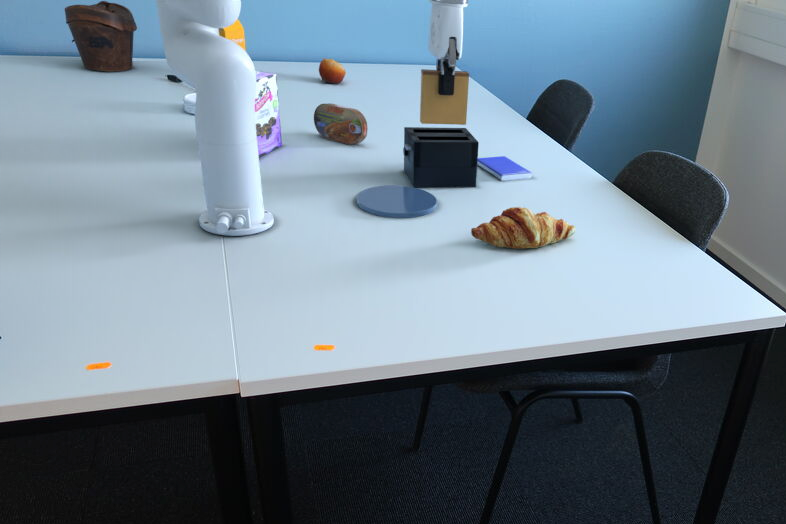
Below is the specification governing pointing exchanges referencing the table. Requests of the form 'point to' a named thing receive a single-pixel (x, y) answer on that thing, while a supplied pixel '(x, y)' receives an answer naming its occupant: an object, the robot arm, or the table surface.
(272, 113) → the candy box
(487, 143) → the table surface
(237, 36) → the orange juice
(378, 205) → the plate
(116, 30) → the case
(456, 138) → the toaster
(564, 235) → the croissant
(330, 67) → the fruit
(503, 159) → the blue book
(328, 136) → the tin
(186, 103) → the white round container
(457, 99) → the toast
